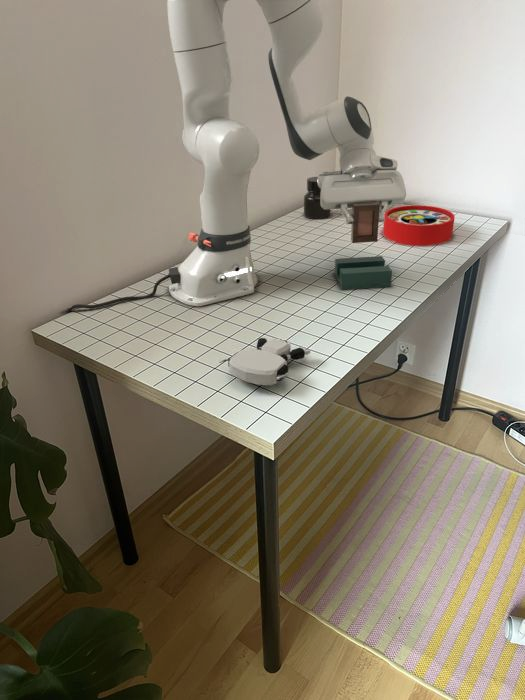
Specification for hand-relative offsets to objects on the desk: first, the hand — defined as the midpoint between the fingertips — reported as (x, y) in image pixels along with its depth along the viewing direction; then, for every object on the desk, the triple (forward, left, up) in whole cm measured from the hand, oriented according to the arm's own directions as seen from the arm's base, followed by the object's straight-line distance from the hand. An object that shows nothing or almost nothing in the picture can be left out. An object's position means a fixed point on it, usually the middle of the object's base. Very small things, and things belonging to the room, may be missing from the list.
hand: (365, 222), depth 130 cm
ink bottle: (+29, +47, -15) cm, 58 cm away
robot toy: (-44, -16, -15) cm, 49 cm away
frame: (0, +1, -5) cm, 5 cm away
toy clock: (+37, +12, -15) cm, 42 cm away
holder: (0, 0, -15) cm, 15 cm away
